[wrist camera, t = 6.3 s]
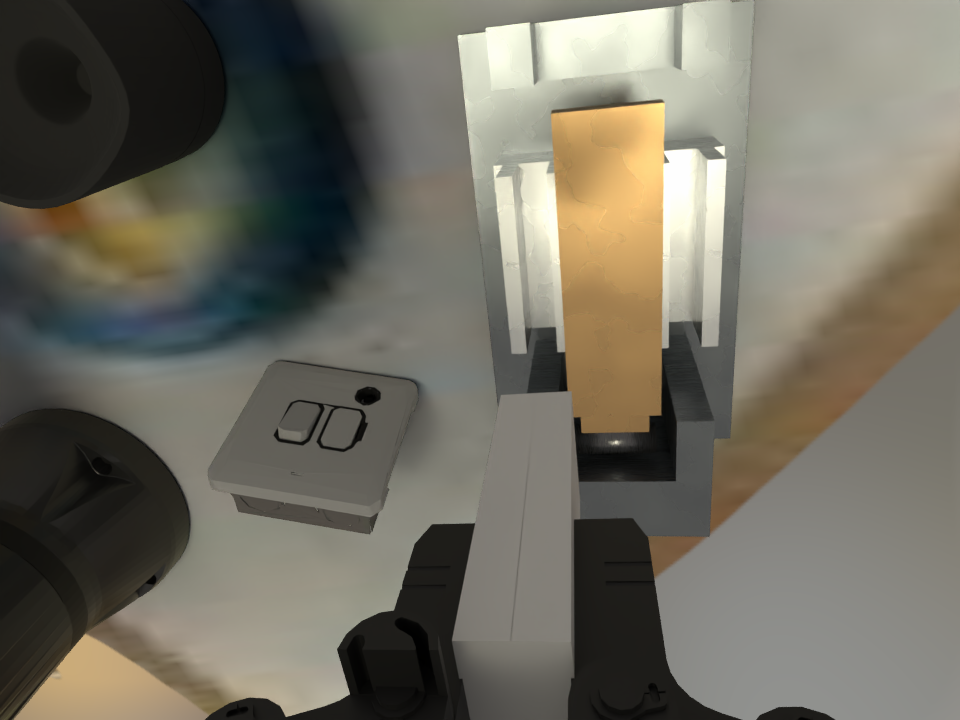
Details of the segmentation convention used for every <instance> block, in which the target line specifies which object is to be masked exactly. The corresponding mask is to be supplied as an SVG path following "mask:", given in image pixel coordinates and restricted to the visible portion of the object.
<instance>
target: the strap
mask: <svg viewBox="0 0 960 720" xmlns="http://www.w3.org/2000/svg"><path fill="white" fill-rule="evenodd" d="M664 109H665V103H664V101H663V100H662V99H657V100H647V101H637V102H626V103H616V104H606V105H596V106H586V107H576V108H566V109H556V110H552V112H551V126H552V142H553V158H554V174H555V191H556V207H557V223H558V239H559V256H560V272H561V288H562V304H563V321H564V337H565V353H566V369H567V386H568V391H572V404H573V416H574V417H581V423H580V424H575V442H576V454H608V453H656V451H657V438H656V425H655V422H649V416H657V415H661V385H662V293H663V201H664Z"/></svg>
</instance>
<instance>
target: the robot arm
mask: <svg viewBox="0 0 960 720" xmlns="http://www.w3.org/2000/svg"><path fill="white" fill-rule="evenodd" d="M188 537H189V517H188V511H187V507H186V504H185V501H184V498H183V496H182V493H181V491H180V489H179V487H178V485H177V484H176V482H175V480H174V479H173V477H172V476H171V474H170V473H169V471H168V470H167V469H166V467H165V466H164V465H163V464H162V463H161V461H160V460H159V459H158V458H157V457H156V456H155V455H154V454H153V453H152V452H151V451H150V450H149V449H147V448H146V447H145V446H144V445H143V444H142V443H140V442H139V441H138V440H136V439H135V438H134V437H132V436H131V435H129V434H128V433H126V432H125V431H123V430H121V429H120V428H118V427H116V426H114V425H112V424H110V423H108V422H106V421H104V420H101V419H99V418H96V417H93V416H90V415H87V414H84V413H80V412H75V411H69V410H61V409H44V410H36V411H32V412H28V413H25V414H22V415H20V416H18V417H16V418H14V419H13V420H11V421H10V422H8V423H7V424H5V425H4V426H2V427H1V428H0V720H14V718H15V717H16V716H17V715H18V714H19V712H20V711H21V710H22V709H23V708H24V706H25V705H26V704H27V702H29V700H30V699H31V698H32V697H33V695H34V694H35V693H36V692H37V691H38V689H39V688H40V687H41V686H42V685H43V683H44V682H45V681H46V680H47V679H48V677H49V676H50V675H51V674H52V673H53V671H54V670H55V669H56V668H57V667H58V665H59V664H60V663H61V662H62V661H63V659H64V658H65V656H66V655H67V654H68V653H69V652H70V651H71V649H72V648H73V647H74V646H75V645H76V643H77V642H78V641H79V640H80V639H81V638H82V637H83V635H84V634H85V633H86V632H87V631H89V630H90V629H92V628H93V627H95V626H97V625H98V624H100V623H101V622H103V621H104V620H106V619H107V618H109V617H110V616H112V615H114V614H115V613H117V612H118V611H120V610H121V609H123V608H124V607H126V606H127V605H129V604H130V603H132V602H133V601H135V600H136V599H137V598H139V597H141V596H143V595H144V594H146V593H147V592H149V591H150V590H152V589H153V588H154V587H155V586H157V585H158V584H159V583H160V582H161V581H162V580H163V579H164V577H165V576H166V575H167V574H168V572H169V571H170V570H171V569H172V567H173V566H174V565H175V563H176V562H177V561H178V560H179V558H180V557H181V555H182V554H183V552H184V550H185V547H186V545H187V541H188ZM337 651H338V654H339V658H340V661H341V664H342V668H343V671H344V675H345V678H346V681H347V685H348V688H349V692H350V695H348V696H346V697H345V698H343V699H341V700H340V701H337V702H335V703H332V704H330V705H327V706H324V707H321V708H317V709H314V710H310V711H307V712H303V713H299V714H296V715H292V716H289V717H286V716H285V715H284V713H283V711H282V709H281V707H280V706H279V705H277V704H275V703H274V702H272V701H270V700H268V699H264V698H246V699H243V700H239V701H235V702H232V703H229V704H227V705H226V706H224V707H222V708H221V709H219V710H217V711H215V712H214V713H212V714H210V715H209V716H208V717H207V718H206V719H205V720H741V719H738V718H735V717H732V716H728V715H725V714H722V713H720V712H717V711H715V710H712V709H710V708H707V707H705V706H703V705H702V704H700V703H699V702H697V701H696V700H694V699H693V698H691V697H690V696H689V695H688V694H687V693H686V692H685V691H684V690H683V689H682V688H681V687H680V686H679V685H678V684H677V682H676V680H675V679H674V677H673V676H672V674H671V673H670V669H669V666H668V663H667V660H666V654H665V647H664V640H663V634H662V628H661V620H660V614H659V607H658V601H657V594H656V587H655V581H654V574H653V567H652V561H651V554H650V548H649V541H648V537H647V536H646V535H645V533H644V532H643V531H642V530H641V528H640V527H639V526H638V524H637V523H636V522H635V521H634V519H633V518H610V519H580V493H579V480H578V467H577V455H576V442H575V429H574V416H573V404H572V391H566V392H547V393H529V394H510V395H501V397H500V402H499V407H498V412H497V417H496V422H495V427H494V432H493V437H492V442H491V447H490V452H489V457H488V462H487V467H486V472H485V477H484V482H483V487H482V492H481V497H480V502H479V507H478V512H477V517H476V522H475V523H474V524H432V525H431V526H430V527H429V528H428V530H427V531H426V532H425V533H424V534H423V535H422V536H421V538H420V539H419V540H418V541H417V542H416V543H415V545H414V548H413V551H412V555H411V558H410V561H409V564H408V571H406V574H405V577H404V580H403V584H402V590H400V593H399V597H398V600H397V603H396V606H395V609H394V611H388V612H382V613H378V614H376V615H374V616H372V617H370V618H367V619H365V620H363V621H361V622H360V623H359V624H358V625H356V626H355V627H354V628H353V629H352V630H351V631H349V632H348V633H347V634H346V636H345V637H344V639H343V641H342V642H341V644H340V646H339V647H338V649H337ZM757 720H835V719H833V718H831V717H830V716H828V715H827V714H824V713H820V712H817V711H814V710H810V709H807V708H804V707H778V708H776V709H773V710H771V711H769V712H766V713H764V714H762V715H760V716H759V717H758V718H757Z"/></svg>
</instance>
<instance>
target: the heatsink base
mask: <svg viewBox="0 0 960 720" xmlns="http://www.w3.org/2000/svg"><path fill="white" fill-rule="evenodd" d="M754 4H755V0H747V1H738V2H731V0H709V1H701V2H693V3H684V4H680V5H677V6H673V7H664V8H656V9H648V10H640V11H632V12H624V13H615V14H607V15H599V16H591V17H583V18H574V19H566V20H558V21H550V22H542V23H530V22H529V23H521V24H513V25H505V26H497V27H489V28H486V32H483V33H475V34H467V35H458V44H459V53H460V62H461V72H462V81H463V90H464V99H465V108H466V117H467V127H468V136H469V145H470V154H471V163H472V172H473V181H474V191H475V200H476V209H477V218H478V227H479V236H480V246H481V255H482V264H483V273H484V282H485V291H486V301H487V310H488V319H489V328H490V337H491V346H492V355H493V365H494V374H495V383H496V392H497V401H498V407H499V402H500V397H501V395H510V394H529V393H547V392H566V391H568V386H567V369H566V353H565V337H564V321H563V304H562V288H561V272H560V256H559V239H558V223H557V207H556V191H555V174H554V158H553V142H552V126H551V112H552V110H556V109H566V108H576V107H586V106H596V105H606V104H616V103H626V102H637V101H647V100H657V99H662V100H663V101H664V103H665V109H664V201H663V293H662V385H661V415H657V416H649V422H655V425H656V438H657V451H656V453H608V454H576V455H577V467H578V480H579V493H580V519H610V518H633V519H634V521H635V522H636V523H637V524H638V526H639V527H640V528H641V530H642V531H643V532H644V533H645V535H646V536H703V537H709V536H710V514H711V491H712V469H713V447H714V438H730V429H731V411H732V394H733V376H734V358H735V340H736V323H737V305H738V287H739V270H740V252H741V234H742V216H743V199H744V181H745V163H746V146H747V128H748V110H749V92H750V75H751V57H752V39H753V22H754ZM580 423H581V417H574V429H575V424H580Z"/></svg>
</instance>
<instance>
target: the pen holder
mask: <svg viewBox="0 0 960 720" xmlns="http://www.w3.org/2000/svg"><path fill="white" fill-rule="evenodd" d="M224 92H225V88H224V76H223V70H222V65H221V62H220V58H219V55H218V52H217V49H216V47H215V45H214V42H213V40H212V38H211V36H210V35H209V33H208V31H207V29H206V28H205V26H204V25H203V23H202V22H201V20H200V19H199V18H198V17H197V16H196V14H195V13H194V12H193V11H192V10H191V9H190V8H189V7H188V6H187V5H186V4H185V3H184V2H183V1H182V0H0V201H1V202H3V203H7V204H10V205H14V206H18V207H24V208H35V209H45V208H52V207H58V206H61V205H64V204H68V203H71V202H73V201H76V200H78V199H81V198H84V197H86V196H89V195H91V194H94V193H96V192H99V191H102V190H104V189H107V188H109V187H112V186H114V185H117V184H119V183H122V182H125V181H127V180H130V179H132V178H135V177H137V176H140V175H142V174H145V173H148V172H150V171H153V170H155V169H158V168H160V167H163V166H165V165H167V164H169V163H172V162H174V161H177V160H179V159H181V158H183V157H185V156H187V155H189V154H191V153H193V152H194V151H196V150H197V149H199V148H200V147H201V146H202V145H203V144H204V143H205V142H206V141H207V140H208V139H209V138H210V136H211V135H212V134H213V132H214V130H215V128H216V126H217V124H218V122H219V119H220V116H221V113H222V109H223V104H224Z"/></svg>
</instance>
